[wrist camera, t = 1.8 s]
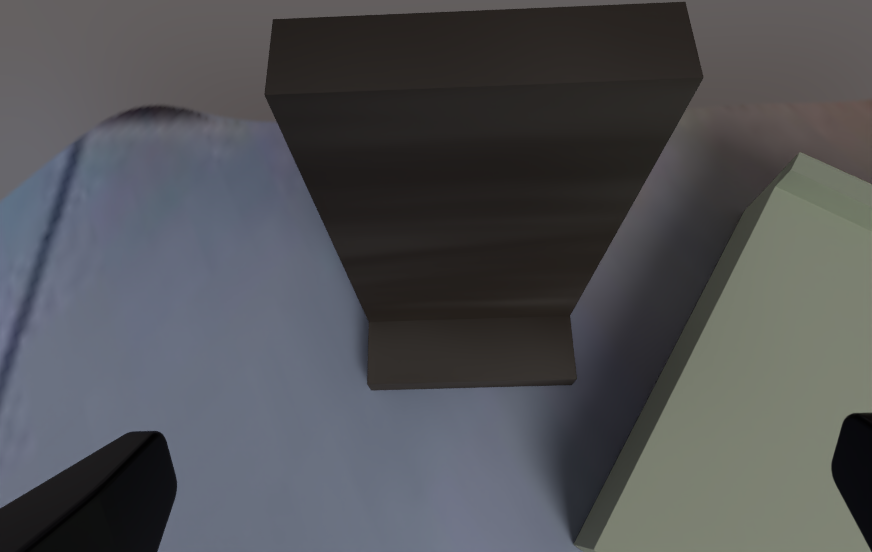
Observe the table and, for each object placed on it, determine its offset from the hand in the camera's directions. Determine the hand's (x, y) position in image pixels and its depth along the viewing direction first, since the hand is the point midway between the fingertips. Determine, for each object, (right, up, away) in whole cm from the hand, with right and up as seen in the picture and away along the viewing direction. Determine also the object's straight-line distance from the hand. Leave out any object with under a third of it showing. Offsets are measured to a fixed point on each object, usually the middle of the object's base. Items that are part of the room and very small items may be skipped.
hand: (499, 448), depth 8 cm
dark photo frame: (0, +1, +14) cm, 14 cm away
